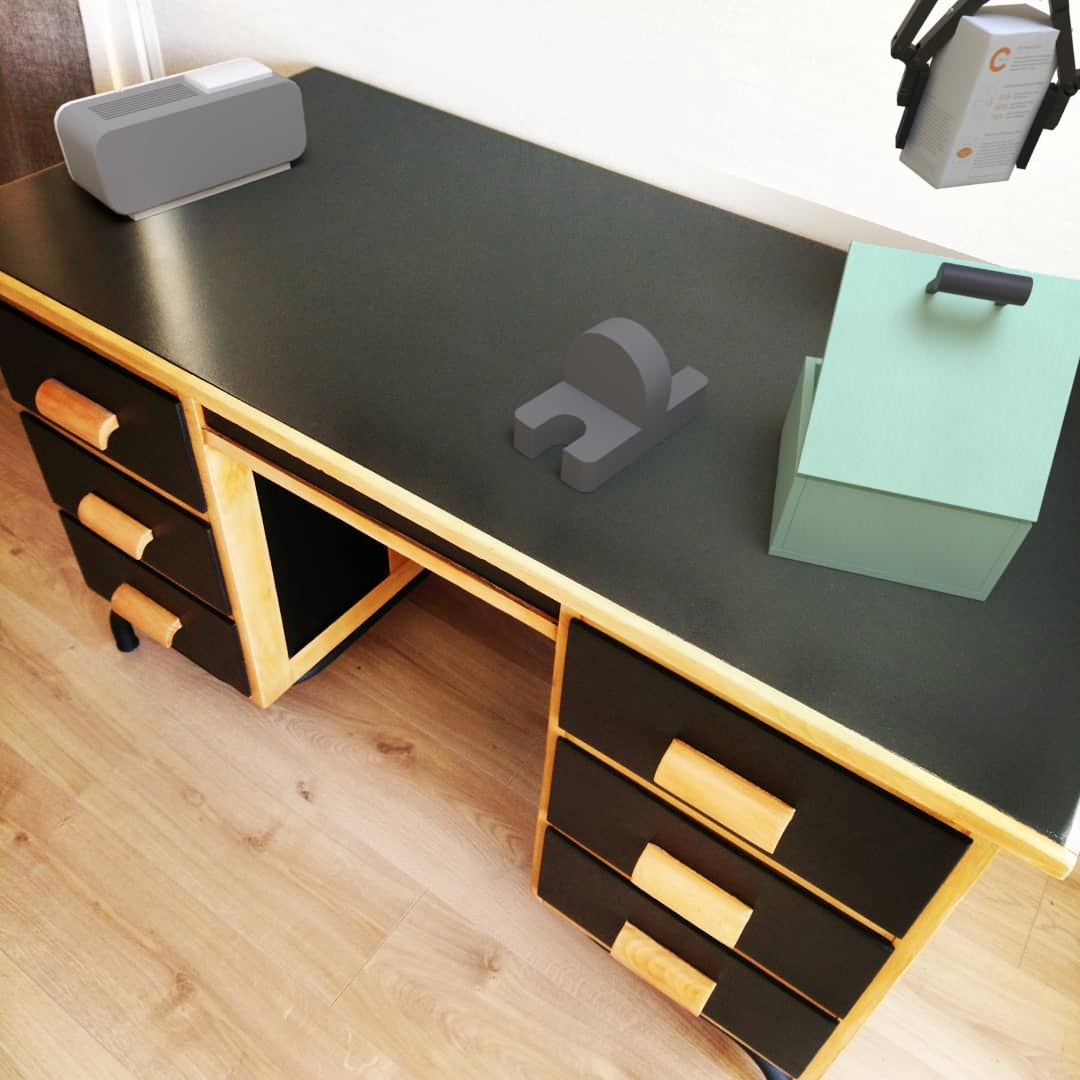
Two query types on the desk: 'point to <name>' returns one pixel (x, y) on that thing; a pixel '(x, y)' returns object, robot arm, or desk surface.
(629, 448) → the bracket
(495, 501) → the desk surface
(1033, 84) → the small box
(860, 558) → the compartment
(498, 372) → the desk surface
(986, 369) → the lid
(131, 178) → the alarm clock
